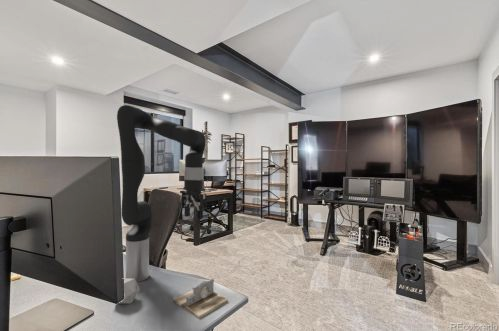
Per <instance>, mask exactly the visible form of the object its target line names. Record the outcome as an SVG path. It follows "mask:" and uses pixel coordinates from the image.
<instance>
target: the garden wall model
mask: <svg viewBox="0 0 499 331" xmlns="http://www.w3.org/2000/svg"><path fill="white" fill-rule="evenodd" d="M214 282H215V280H214V278H210V279H209V280H203V281H201V282H200V283H199V284H198V285H196V286H195V287H192V290H193V294H192V295H190V296H187V297H186V305H187V306H190V305H192V304H193V303H195V302H197V301H199V300H201V299H204V298H206V297H207V296H209V295H210V294H212V293H213V292H214V287H215V286H214ZM203 288H206V289H203ZM202 290H204V291H203V292H205V290H206V292H205V293H204V294H202V293H203V292H201V291H202ZM201 295H203V296H201Z"/></svg>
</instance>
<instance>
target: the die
mask: <svg viewBox="0 0 499 331" xmlns="http://www.w3.org/2000/svg"><path fill="white" fill-rule="evenodd" d="M123 279H124V293H125V299H124V300H123V301H122V302H120V303H119V304H120V305H124V304H127V305H128V304H129V305H131V304H132V303H133V301H134V300H135V299H136V297H137V295H138V293H139V292H140V291H141V290H140V289H141V288H140V287H139V285H138V282H136V280H135V279H126V278H123ZM119 304H118V305H119Z"/></svg>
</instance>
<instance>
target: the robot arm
mask: <svg viewBox="0 0 499 331" xmlns="http://www.w3.org/2000/svg"><path fill="white" fill-rule="evenodd" d="M116 120H117V127H118V133H119V134H118V135H119V142H120V143H119V144H120V156H121V157H120V158H121V160H120V161H121V162H120V163H121V176H122V179H121V180H122V181H121V182H122V185H121V186H122V192H121V194H122V196H121V199H122V200H121V218H122V220H123V222H124V224H125V225H127V226H132V227H131V228H130V230H128V231H127V233H126V234H125V279H135V280H136V282H137V283H138V282H142V281H145V280H147V279H148V278H149V276H150V234H151V231H152V221H153V220H152V219H153V217H152V216H153V211H152V206H151V205H150V203H149V202H147V201H143V200H142V201H138V200H139V198H138V194H139V193H138V192H139V189H140V186H141V184H142V181H143V179H144V177H145V174H146V161H145V155H144V152H143V150H142V148H141V146H140V144H139V142H138V140H137V138H136V129H141V130H147V131H150V132H153V133H156V134H158V135H159V136H161V137H164V138H166V139H169V140H172V141H174V142H178V143H180V144H182V145H184V146H186V147H189V151H188V153H186V155H185V157H184V158H185V159H184V172H183V173H184V180H183V181H184V183H183V186H184V188H183V189H184V190H185V191H182V192H181V196H180V197H181V200H180V201H181V202H180V205H181V206H183V208H184V217H186V218H187V217H190V216H191V205H192V204H193V205H194V206H195V207H196V210H197V211H196V219H197V221H200V220H203V219H204V210H207V209H208V203H207V202H208V199H207V197H208V196H207V193H202V191H203V189H204V171H203V170H204V169H203V158H204V152H205V148H206V136H205V134H204V133H203V132H202V131H199V130H196V129H193V128H191V127H190V128H189V127H185V126H184V125H181V124H179V123H176V122H172V121H169V120H166V119H161V118H158V117H155V116H152V115H151V114H150V113H147V112H146V111H144V110H142V109H141V108H139V107H135V106H133V105H129V104H123V105H120V107H119V108H118V110H117V114H116Z"/></svg>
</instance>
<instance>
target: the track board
mask: <svg viewBox="0 0 499 331" xmlns="http://www.w3.org/2000/svg"><path fill="white" fill-rule="evenodd" d="M203 289H206V288H203ZM203 291H204V290H202V291H201V292H203ZM205 292H206V290H205ZM205 292H203V293H202V294H204V293H205ZM192 294H193V289H192V290H189V291H188V292H186V293H184V294H181V295H179V296H177V297H174V298H173V303H176V304H177V305H179V306H180V307H181V308H183V309H184V310H185V311H187V312H189V313H190V314H191V315H193V316H194V317H196V318H198V319H201V318H203V317H205V316H206V315H207V314H210V313H211V312H213V311H215V310H216V309H218V308H219V307H221V306H223V305H225V304H227V303H228V302H229V300H228V299H229V298H226V297H224V296H222V295H221V294H218V293H217V292H215V291H213V293H212V294H210V295H209V296H207V297H206V298H204V299H201V300H199V301H197V302H195V303H193V304H192V305H190V306H187V305H186V297H187V296H190V295H192ZM201 296H203V295H201Z"/></svg>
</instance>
